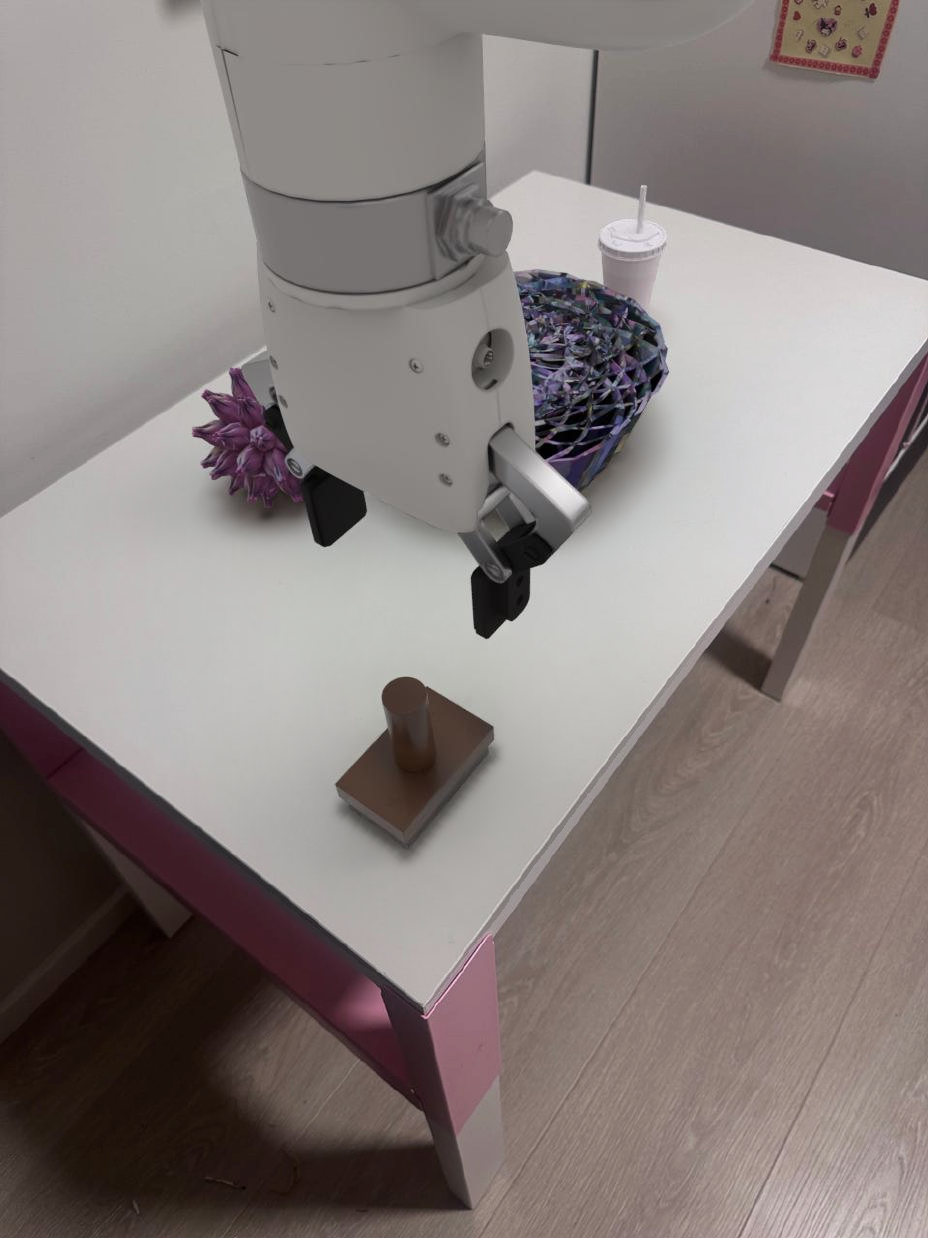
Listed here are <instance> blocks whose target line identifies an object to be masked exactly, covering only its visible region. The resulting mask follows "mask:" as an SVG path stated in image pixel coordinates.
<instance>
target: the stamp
mask: <svg viewBox="0 0 928 1238" xmlns="http://www.w3.org/2000/svg"><path fill="white" fill-rule="evenodd" d="M380 697H381V698H380V699H381V704H382V708H383V712H384V716H385V721H386V725H387V727H386V729H385V730H384V731H383V732H382V733H381V734H380V735H379V736H378V737H377V738H376V739H375V740H374V741H373V743H372V744H371V745H370V746H369V747H368V748H367V749H366V750H365V751H364V752H363V753H362V754H361V755H360V756H359V758H357V759H356V760H355V762H354V763H353V764H352V765H351V766H350V767H349V768H348V769H347V770H346V771H345V772H344V774H342V775H341V777H340V778H339V779H338V780H337V781H336V782H335V783H334V787H335V790H336V792H337V795H338V798H340V799H342V800H343V801H344V802H346V803H347V804H348V807H349V808H350V809H352V810H353V811H354V812H356V813H357V814H359V815H360V816H361V817H363V818H364V819H366V820H367V821H368V822H370V823H372V825H374V826H375V827H377V828H378V829H380V830H381V831H383V832H384V833H385V834H387V835H388V836H390V837H391V838H392V839H394V840H395V841H396V842H398V843H399V844H400V845H402V846H403V847H405V848H406V849H408V850H409V849H410V848H411V847H412V846H413V844H414V843H416V841H417V840H418V839H419V837H420V836H421V835H422V834H423V833H424V831H426V830H427V828H428V826H430V824H432V822H433V821H434V820H435V818H436V817H437V816H438V815H439V814H440V812H441V811H442V810H443V809H444V808H445V807H446V805H447V804H448V803H449V801H451V799H452V798H453V797H454V796H455V795H456V793H458V791H459V790H460V789H461V788H462V786H463V785H464V784H465V783H466V781H467V780H468V779H469V778H470V777H471V775H472V774H473V773H474V772H475V771H476V769H477V768H479V766H480V765H481V763H482V762H483V761H484V760H485V759H486V758H487V756H488V755H489V754H490V746H491V744H492V743H493V742H494V741H495V728H494V725H492V724H490V723H489V722H487V721H485V720H484V719H482V718H481V717H479V716H477V715H475V714H474V713H472V712H470V711H469V710H467V709H466V708H464V707H463V706H461V705H460V704H457V703H456V702H455V701H453V700H451V699H449V698H447V697H446V696H444V695H443V694H442V693H439V692H437V691H436V690H435V689H432V688H431V687H429V686H427V685H425V684H424V682H422V681H421V680H420V679H418V678H415V677H412V676H399V677H396V678H394V679H392V680H390V681H389V682H388V683H387V684H386V685H385V686H384V688H383V689H382V692H381V696H380Z"/></svg>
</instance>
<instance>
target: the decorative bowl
mask: <svg viewBox="0 0 928 1238" xmlns="http://www.w3.org/2000/svg"><path fill="white" fill-rule="evenodd" d="M513 272H514V276H515V280H516V283H517V288H518V292H519V297H520V302H521V306H522V311H523V316H524V322H525V328H526V334H527V341H528V348H529V356H530V365H531V375H532V387H533V400H534V417H535V451H536V452H537V453H538V454H539V455H540V456H541V457H542V458H543V459H544V460H545V461H546V462H547V463H549V464H550V465H551V466H552V467H553V468H554V469H555V470H556V471H557V472H558V473H559V474H560V475H561V476H562V477H563V478H564V479H566V480H567V481H568V482H569V483H570V484H571V485H572V486H573V487H574V488H575V489H576V490H577V491H578V492H580V491H581V490H583V489H585V488H587V487H588V486H590V485H591V484H592V482H593V480H594V479H595V477H596V476H597V475H598V474H600V473H601V472H602V471H604V470H605V469H606V468H607V466H608V465H609V464H610V461H611V459H612V457H613V456H614V455H615V454H618V453H621V451H622V449H623V447H624V446H625V444H626V442H627V440H628V438H629V437H630V435H631V433H632V432H633V430H634V429H635V427H636V425H637V423H638V421H639V420H640V417H641V415H642V414H643V413H644V410H645V408H646V407H647V405H648V403H649V401H650V399H651V398H652V396H653V395H655V394H657V393H659V391H660V390H661V388H662V387H663V385H664V383H665V381H666V379H667V377H668V375H669V373H670V371H669V367H668V364H667V362H666V360H667V356H668V350H669V348H668V346H667V345H666V342H665V337H664V334H663V331H662V326H661V323H659V322H658V321H657V320H655V319H654V318H653V317H651V316H650V315H649V313H648V312H647V313H646V311H645V310H644V309H643V308H642V307H641V306H640V305H639V304H638V303H637V302H636V301H635V300H634V299H632V298H630V297H627V296H625V295H622V294H620V293H618V292H616V291H614V290H612V289H610V288H608V287H606V286H604V285H603V283H599V282H598V281H596V280H590V279H589V280H588V279H582V278H579V277H577V276H575V275H572V274H570V273H568V272H565V271H564V272H563V271H555V270H548V269H539V268H535V269H526V270H517V271H513ZM493 511H496V510H495V509H493V510H492V511H491V512H493ZM530 512H531V511H530ZM531 513H532V512H531Z"/></svg>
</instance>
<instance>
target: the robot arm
mask: <svg viewBox="0 0 928 1238" xmlns="http://www.w3.org/2000/svg"><path fill="white" fill-rule="evenodd" d="M199 1H200V6H201V11H202V15H203V19H204V22H205V27H206V32H207V35H208V39H209V43H210V47H211V51H212V56H213V60H214V65H215V68H216V73H217V77H218V80H219V84H220V89H221V93H222V97H223V101H224V105H225V109H226V113H227V118H228V122H229V125H230V129H231V133H232V138H233V142H234V147H235V150H236V155H237V158H238V163H239V170H240V174H241V175H240V176H241V180H242V184H243V187H244V192H245V196H246V201H247V205H248V209H249V213H250V217H251V222H252V226H253V230H254V234H255V239H256V267H257V269H256V270H257V271H256V272H257V282H258V295H259V304H260V311H261V321H262V327H263V333H264V341H265V346H266V350H264V351H261V352H260V353H258V354H257V355H255V356H254V357H253V358H250V359H249V360H248V361H246V362H245V363H244V364H242V365H241V367H240V369H241V372H242V374H243V376H244V378H245V380H246V382H247V383H248V385H249V387H250V388H251V390H252V392H253V394H254V395H255V397H256V399H257V400H258V402H259V404H260V406H263V405H264V407H265V409H266V410H265V411H264V412H263V417H264V420H265V424H266V426H267V427H268V428H269V429H270V430H272V432H273V433H274V434H275V436H276V437H277V438H278V439H279V441H280V442H281V443H282V444H283V446H284V447H285V448H286V449H287V451H288V452H289V454H288V455H287V456H286V457H285V463H286V466H287V467H288V469H289V470H290V472H291V473H292V474H293V475H294V476H296V477H297V478H301V479H302V478H304V481H303V482H301V483H300V487H301V491H302V495H301V496H302V499H303V502H304V506H305V510H306V513H307V518H308V522H309V526H310V530H311V533H312V537H313V541H314V543H315V544H318V545H319V546H320V547H323V548H327V547H331V546H332V545H334V544H335V543H336V542H338V540H340V539H341V537H343V536H344V535H345V534H346V533H348V531H350V530H351V529H352V528H353V527H354V526H356V525H357V524H358V523H359V522H360V521H362V520H363V519H364V518H365V517H366V516H367V514H368V507H367V501H366V497H365V493H366V494H369V495H370V496H372V497H374V498H376V499H377V500H379V501H381V502H384V503H385V504H387V505H389V506H392V507H394V508H396V509H397V510H399V511H401V512H403V513H405V514H407V515H409V516H411V517H413V518H415V519H417V520H419V521H422V522H424V523H426V524H428V525H430V526H432V527H434V528H438V529H440V530H444V531H447V532H452V533H456V534H457V536H458V537H459V538H460V539H461V541H462V543H463V544H464V546H465V547H466V549H467V550H468V551H469V553H470V554H471V556H472V557H473V559H474V561H475V562H476V563H477V564H478V565H477V566H476V568H475V569H474V570H473V571H472V572H471V575H470V590H471V606H472V619H473V620H472V622H473V630H474V631H475V635H477V636H480V637H481V638H483V639H485V640H488V639H490V638H491V637H492V636H493V635H494V634H495V633H496V632H497V631H498V630H499V629H500V628H501V626H503V624H504V623H505V622H506V621H509V622H514V621H515V620H516V619H518V618H519V616H521V614H522V613H523V612H524V611H525V609H526V607H527V606H528V604H529V601H530V597H531V569H534V568H536V567H539V566H542V565H544V564H545V563H546V562H547V561H549V559H550V558H551V557H552V556H553V555H554V554H555V553H556V552H557V551H558V550H559V549H560V548H561V547H562V545H564V544H565V542H567V540H568V539H569V538H570V537H572V535H573V534H574V533H575V532H576V531H577V530H578V529H579V528H580V527H581V526H582V524H583V523H584V522H586V520H588V518H589V517H590V516H591V514H592V513H593V507H592V505H591V502H589V500H588V499H587V498H586V497H585V496H584V495H583V494H582V493H581V492H580V491H577V490H576V489H575V488H574V487H573V486H572V485H571V484H570V483H569V482H568V481H567V480H566V479H564V478H563V477H562V476H561V475H560V474H559V473H558V472H557V471H556V470H555V469H554V468H553V467H552V466H551V465H550V464H549V463H547V462H546V461H545V460H544V459H543V458H542V457H541V456H540V455H539V454H538V453H537V452H536V451H535V417H534V400H533V387H532V375H531V365H530V356H529V348H528V341H527V334H526V328H525V322H524V316H523V311H522V306H521V302H520V297H519V292H518V288H517V283H516V280H515V276H514V272H515V271H514V270H513V269H514V268H513V266H512V263H511V259H510V256H509V253H508V251H507V250H508V249H507V248H508V247H509V245H510V242H511V240H512V236H513V231H514V221H513V217H512V214H511V212H509V211H508V210H506V209H503V208H500V207H496V206H494V204H493V203H492V202H491V200H489V199H488V188H487V187H488V184H487V154H486V153H487V152H486V151H487V149H486V140H485V139H486V118H485V114H486V113H485V83H484V81H485V79H484V47H483V46H484V45H483V35H484V36H485V35H486V36H493V37H502V38H508V39H515V40H521V41H528V42H534V43H539V44H547V45H553V46H559V47H567V48H572V49H573V48H574V49H581V50H582V49H583V50H591V51H602V52H620V53H621V52H622V53H624V52H625V53H627V52H644V51H652V50H659V49H664V48H670V47H674V46H675V47H676V46H678V45H682V44H685V43H689V42H692V41H694V40H696V39H698V38H701V37H704V36H705V35H708V34H710V33H712V32H714V31H716V30H717V29H719V28H720V27H723V26H724V25H726V24H728V23H730V22H731V21H733V20H734V19H735V18H737V17H738V16H740V15H741V14H742V13H743V12H745V11H746V10H747V9H749V8H750V7H751V6H753V5H754V4H755V3H756V2H757V1H758V0H199ZM493 509H495V510H493ZM492 510H493V511H496V513H497V514H498V516H499V518H501V521H502V522H503V523H504V525H505V526H506V528H507V529H508V531H505V533H504V534H503V535H502V536H501V537H500V538H498V540H496V538H495V536H494V535H493V533H491V531H490V529H489V528H488V527H487V525H486V523H485V521H484V519H486V517H488V516H489V514H491V513H492V512H493V511H492ZM530 511H531V512H530Z"/></svg>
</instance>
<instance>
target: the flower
mask: <svg viewBox="0 0 928 1238" xmlns="http://www.w3.org/2000/svg"><path fill="white" fill-rule="evenodd" d="M228 374H229V378H230V389H231V394H229V393H225V392H213V391H211V390H210V389H208V388H205V389H204V390H203V393H201V395H200V397H201V399H203V400H205V401H206V402H207V404H208V406H209V407H210V410H211V412H212V413H213V415H214V416H215V417H217V419H213V420H210V421H208V422H206V423H205V424H203V425H198V426H192V427H191V431H192V432H191V437H193V438H197V439H202V440H203V441H205V442H206V443H208V444H209V445H211V446H212V447H213V448H212V449H211V450H210V451H209V454H208V455H207V456H206V457H205V458H204V459H201V461H200V466H202V469H205V470H206V469H208V468H213V469H211V470H210V471H209V473H208V475H209V476H210V477H211V481H216V480H218V479H220V478H222V477H230V480H229V481H230V482H229V487H228V488H227V491H226V495H228V496H230V497H233V496H234V495H235V494H236V493H237V492H238V491H240V490H242V489H244V488H245V490H246V493H247V500H246V501H247V502H249V503H250V504H252V503H254V504H256V503H257V501H258V498H259V497H260V496H261V498H262V500H263V507H264V508H273V503H274V499H275V497H276V496H277V494H278V492H279V491H280V490H281V491H282V492H283V493H285V494H286V495H288V496H289V497H291V500H292V501H293V503H297V502H298V503H299V502H303V501H304V499H303V495H302V491H301V487H300V483H301V482H303V481H304V478H302V479H301V478H297V477H296V476H294V475H293V474H292V473H291V472H290V470H289V469H288V467H287V466H286V463H285V457H286V456H287V455H288V454H289V452H288V451H287V449H286V448H285V447H284V446H283V444H282V443H281V442H280V441H279V439H278V438H277V437H276V436H275V434H274V433H273V432H272V430H270V429H269V428H268V427H267V426H266V424H265V420H264V417H263V412H264V411H265V410H266V409H265V407H264V405H263V406H260V404H259V402H258V400H257V399H256V397H255V395H254V394H253V392H252V390H251V388H250V387H249V385H248V383H247V382H246V380H245V378H244V376H243V374H242V372H241V367H240V366H238V367H230V368H229V371H228Z"/></svg>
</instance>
